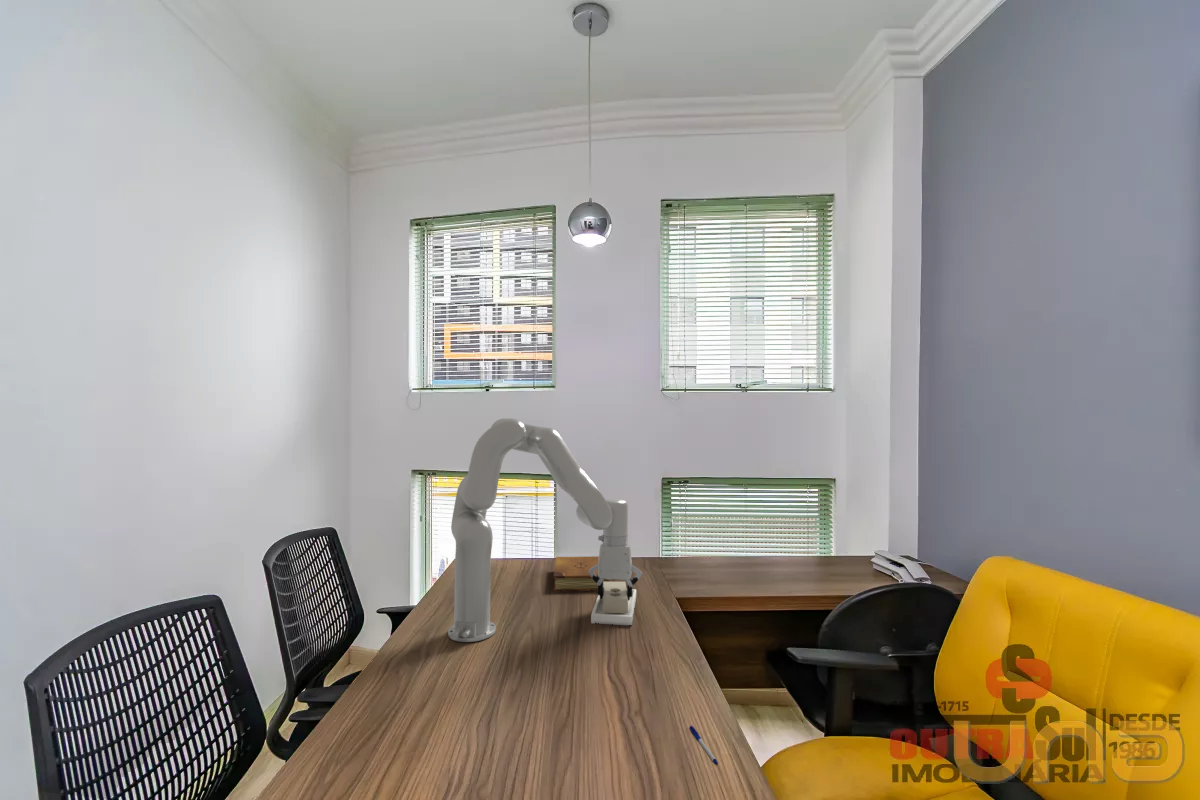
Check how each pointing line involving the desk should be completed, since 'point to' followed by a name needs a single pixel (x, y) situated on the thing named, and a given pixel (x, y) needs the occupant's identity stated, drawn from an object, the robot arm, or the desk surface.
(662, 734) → the desk surface
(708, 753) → the ballpoint pen
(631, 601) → the holder tray
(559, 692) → the desk surface
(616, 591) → the electrical outlet
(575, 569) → the diary
